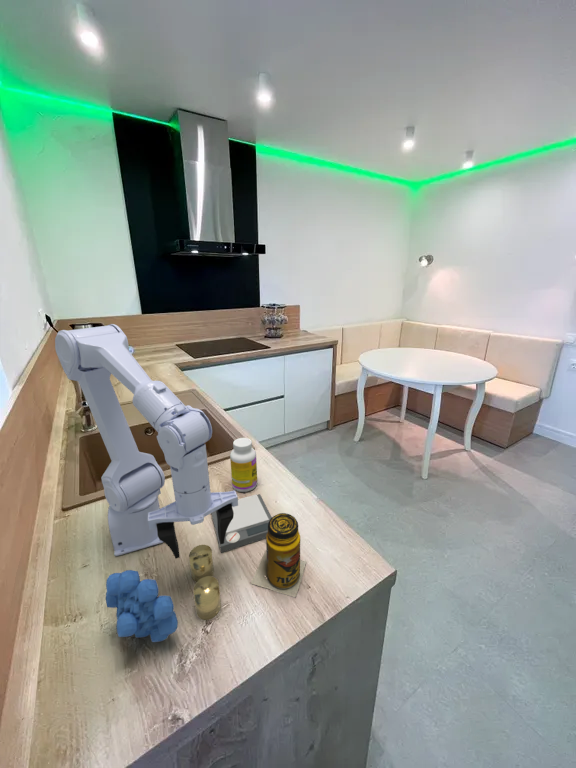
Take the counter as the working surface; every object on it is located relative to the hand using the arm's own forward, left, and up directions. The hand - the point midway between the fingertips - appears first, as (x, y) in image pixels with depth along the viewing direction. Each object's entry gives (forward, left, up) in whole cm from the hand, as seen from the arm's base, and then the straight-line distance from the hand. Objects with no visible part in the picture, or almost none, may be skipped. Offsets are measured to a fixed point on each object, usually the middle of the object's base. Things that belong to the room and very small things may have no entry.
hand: (199, 546), depth 55 cm
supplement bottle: (+14, +22, -6) cm, 27 cm away
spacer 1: (0, 0, -6) cm, 6 cm away
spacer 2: (0, -7, -6) cm, 9 cm away
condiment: (+13, -5, -7) cm, 16 cm away
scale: (+10, +9, -6) cm, 15 cm away
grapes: (-10, -8, -6) cm, 14 cm away
